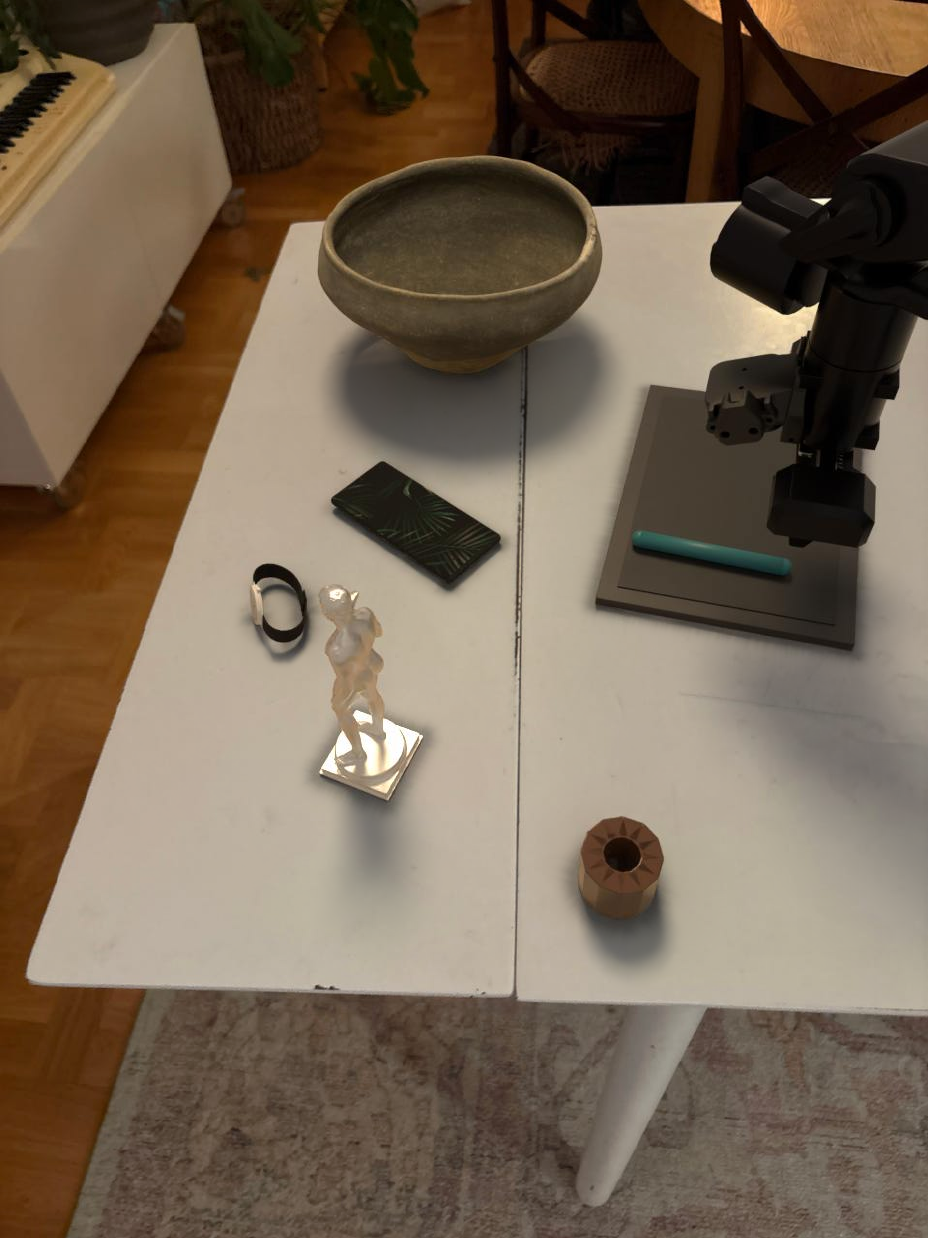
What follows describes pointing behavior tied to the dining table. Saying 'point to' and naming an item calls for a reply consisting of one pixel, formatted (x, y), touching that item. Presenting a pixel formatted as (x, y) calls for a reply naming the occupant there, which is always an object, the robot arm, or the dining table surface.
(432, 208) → the bowl
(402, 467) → the dining table surface
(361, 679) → the figurine
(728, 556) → the stylus
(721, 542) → the tablet
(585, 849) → the pen stand
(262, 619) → the watch
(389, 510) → the smartphone
